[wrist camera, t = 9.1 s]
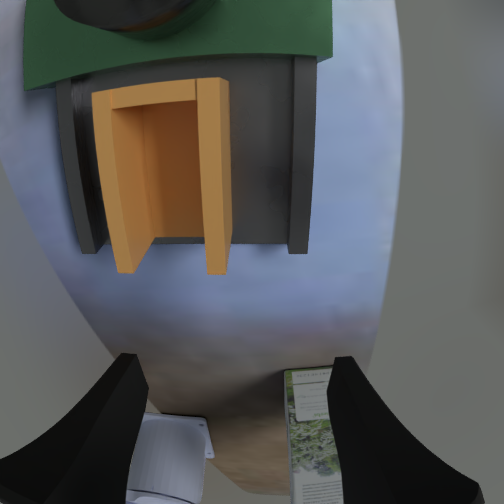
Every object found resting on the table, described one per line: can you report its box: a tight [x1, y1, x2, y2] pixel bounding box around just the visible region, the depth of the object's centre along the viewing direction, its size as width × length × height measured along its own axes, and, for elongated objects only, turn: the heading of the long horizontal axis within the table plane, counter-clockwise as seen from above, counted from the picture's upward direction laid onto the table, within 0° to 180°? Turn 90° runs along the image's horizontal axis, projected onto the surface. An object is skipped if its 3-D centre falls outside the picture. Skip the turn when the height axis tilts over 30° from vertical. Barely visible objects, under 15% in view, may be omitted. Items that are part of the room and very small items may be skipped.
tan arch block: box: [92, 77, 232, 275], centre depth 14 cm, size 8×5×4 cm, turn 0°
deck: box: [23, 0, 333, 254], centre depth 11 cm, size 18×15×7 cm
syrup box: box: [284, 366, 343, 504], centre depth 19 cm, size 6×6×14 cm
